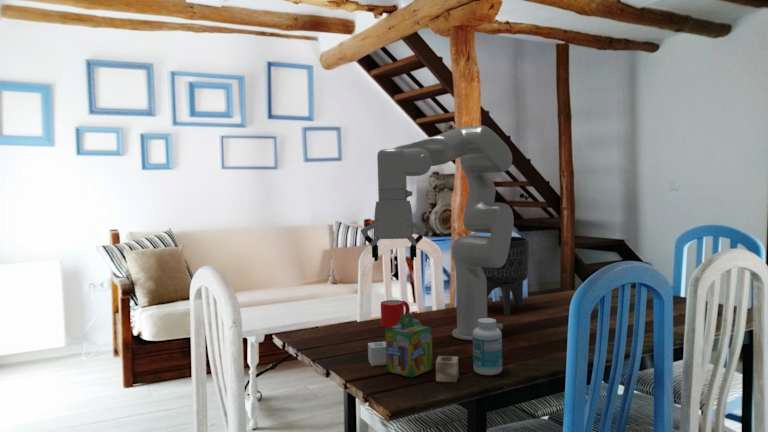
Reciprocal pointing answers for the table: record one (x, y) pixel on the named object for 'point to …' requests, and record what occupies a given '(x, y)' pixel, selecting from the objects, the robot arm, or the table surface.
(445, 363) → the marked block beech
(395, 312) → the mug
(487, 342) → the pill bottle
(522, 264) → the planter
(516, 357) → the table surface
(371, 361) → the marked block white
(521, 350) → the table surface
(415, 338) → the chalk box
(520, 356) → the table surface
